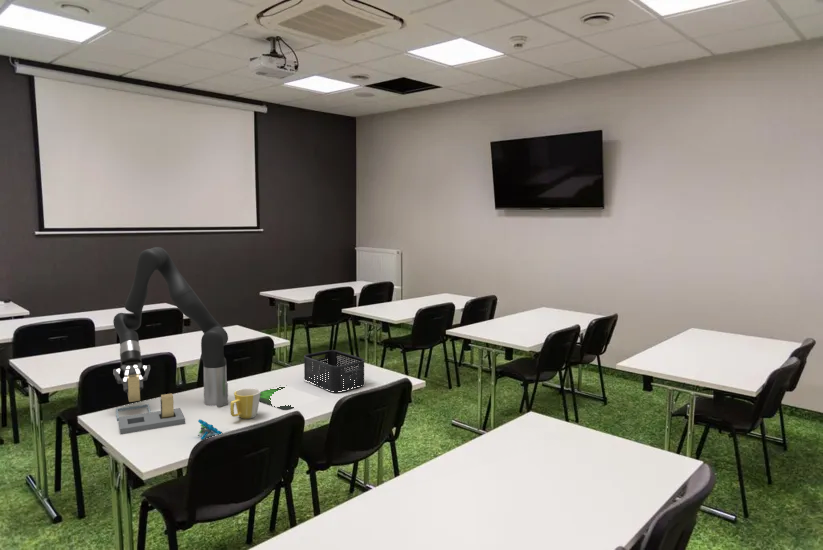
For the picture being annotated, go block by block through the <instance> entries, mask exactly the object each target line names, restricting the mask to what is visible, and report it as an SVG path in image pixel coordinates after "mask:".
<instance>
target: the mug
mask: <svg viewBox="0 0 823 550" xmlns="http://www.w3.org/2000/svg"><path fill="white" fill-rule="evenodd" d="M260 392H261V390H260V389H259V388H254V387H247V388H240V389H237V390H235V391H234V395H233V396H234V400H232V401H230V404H229V405H230V415H231V417H233V418H234V417H240V418H241V419H244V420H249V419H254V418H255V417H256V415H257V414H258V410H259V405H260V402H259V399H260ZM234 407H236V413H235V409H234Z"/></svg>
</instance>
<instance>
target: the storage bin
mask: <svg viewBox="0 0 823 550" xmlns="http://www.w3.org/2000/svg"><path fill="white" fill-rule="evenodd" d="M323 355H324V357H323V358H322V357H321V358H319V359H313V358H314V357H317V356H323ZM303 359H304V362H303V363H304V364H303V368H304V369H303V371H304V372H303V374H304V375H303V376H304V377H303V380H304V379H305V380H307V381H310V382H312V383H314V384H316V385H318V386H321V387H323V388H325V389H328V390H330V391H334V392H338V391H342V390H347V389H348V388H349V389H351V388H352V387H353V388H354V387H357V386H361V385H364V386H365V359H364V358H362V357H359V356H355V355H352V354H350V353H346V352H343V351H340V350H336V349H331V350H330V349H328V350H324V351H317V352H313V353H307V354H304V357H303ZM328 372H329V373H328ZM325 373H326V374H325ZM322 374H323V375H322ZM328 374H329V375H328ZM314 375H315V376H314ZM320 375H321V376H320ZM325 375H326V376H325ZM341 375H342V376H341ZM317 376H318V377H317ZM322 376H323V377H322ZM328 376H329V377H328ZM309 377H310V378H309ZM314 377H315V378H314ZM320 377H321V378H320ZM325 377H326V378H325ZM311 378H312V379H311ZM317 378H318V379H317ZM322 378H323V379H322ZM328 378H329V379H328ZM314 379H315V380H314ZM320 379H321V380H320ZM325 379H326V380H325ZM343 379H344V380H343ZM350 379H351V380H350ZM322 380H323V381H322ZM354 380H355V381H354ZM314 381H315V382H314ZM325 381H326V382H325ZM343 381H344V382H343ZM317 382H318V383H317ZM354 382H355V383H354ZM343 383H344V384H343ZM354 384H355V385H354ZM343 385H344V386H343ZM343 387H344V388H343ZM325 389H324V390H325ZM330 391H329V392H330Z"/></svg>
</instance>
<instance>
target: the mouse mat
mask: <svg viewBox="0 0 823 550" xmlns="http://www.w3.org/2000/svg"><path fill="white" fill-rule="evenodd" d="M279 388H281V389H283V388H285V387H279ZM279 388H277V389H271V388H269V389H270V390H268V389H264V390H262V391H261V390H260V391H261V392H260V399H259V403H261V404H264V405H267V406H270V405H271V406H270V407H273V406H272V404H271V401H270V400H271V398H270V396H272V394H274V392H276V391H278V390H281V389H279ZM269 399H270V400H269ZM273 408H276V407H275V406H274V407H273ZM276 409H279V410H282V411H291V410H293V409H295V408H294V407H291V405H290V406H289V405H288V406H286V405H285V406H280V407H277V408H276Z"/></svg>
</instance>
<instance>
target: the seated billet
mask: <svg viewBox="0 0 823 550" xmlns="http://www.w3.org/2000/svg"><path fill="white" fill-rule="evenodd" d="M174 407H175V406H174V395H173V393H167V394H166V393H164V394H160V411H161V419H164V418H171V417H174V409H175V408H174Z"/></svg>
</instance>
